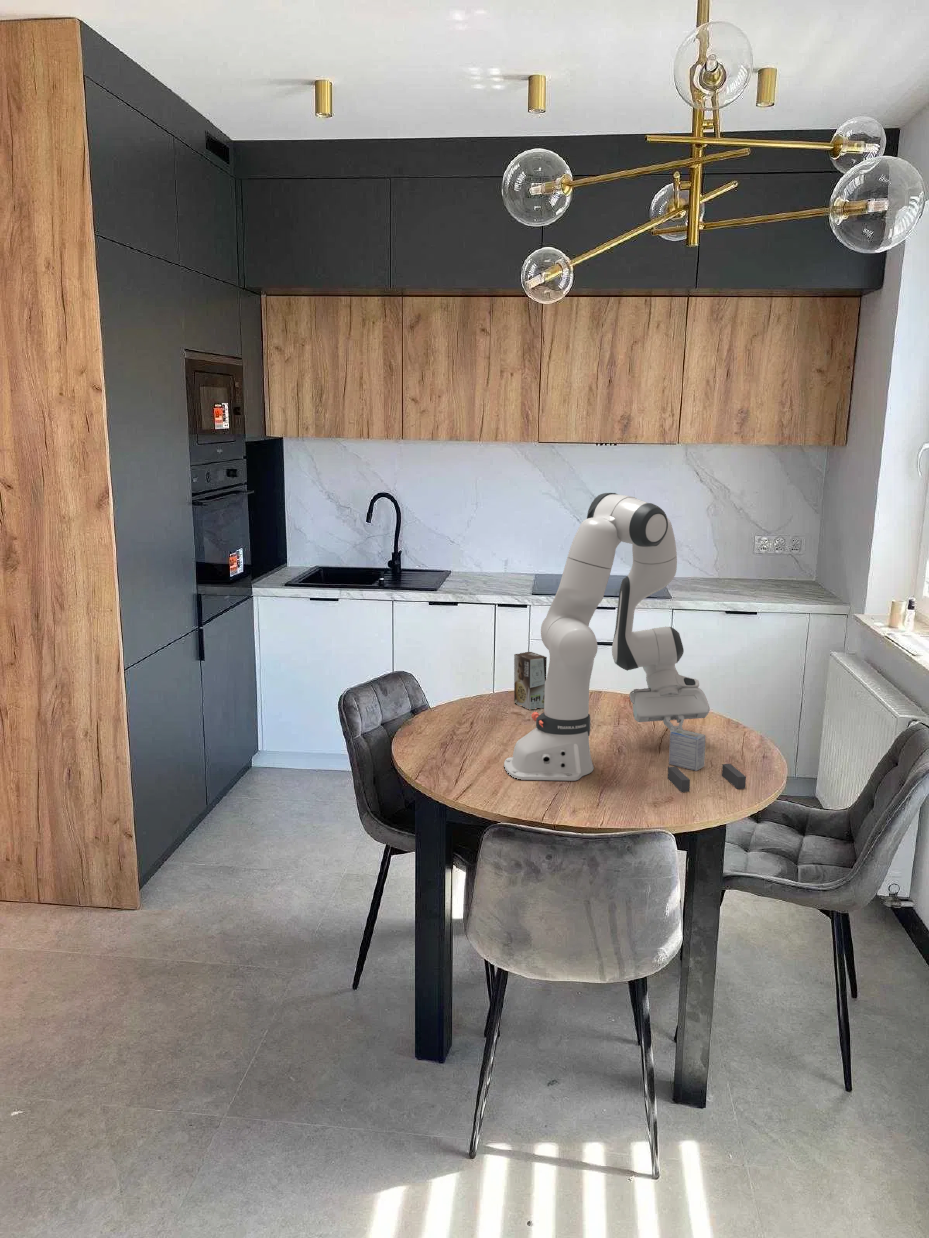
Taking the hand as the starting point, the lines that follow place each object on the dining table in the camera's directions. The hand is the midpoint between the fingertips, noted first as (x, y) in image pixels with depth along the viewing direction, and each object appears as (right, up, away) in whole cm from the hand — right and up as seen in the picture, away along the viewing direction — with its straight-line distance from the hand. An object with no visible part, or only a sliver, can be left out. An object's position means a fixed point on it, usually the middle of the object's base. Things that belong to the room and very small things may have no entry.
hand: (677, 733), depth 246 cm
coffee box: (-36, +3, +45) cm, 58 cm away
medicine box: (+1, -8, -7) cm, 10 cm away
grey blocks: (+3, -10, -19) cm, 22 cm away
